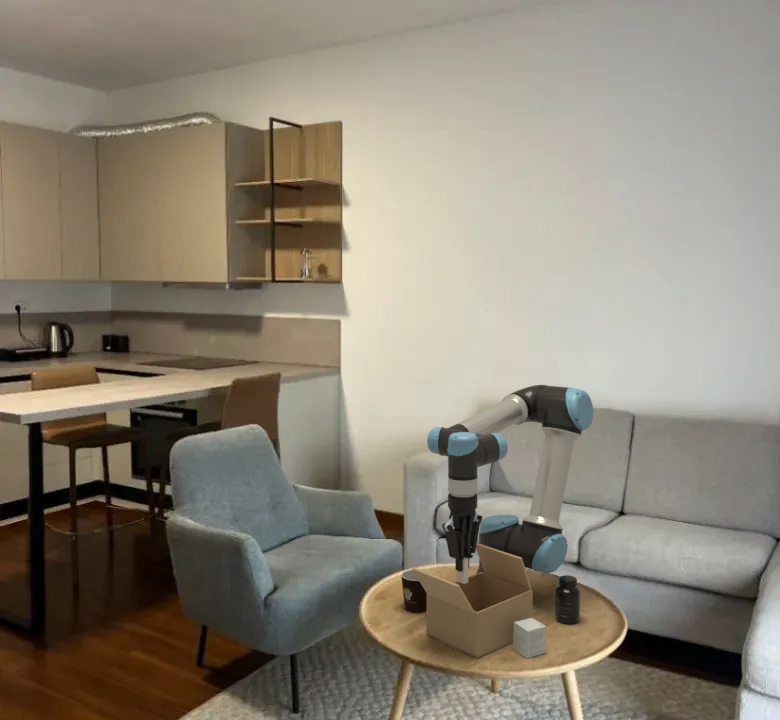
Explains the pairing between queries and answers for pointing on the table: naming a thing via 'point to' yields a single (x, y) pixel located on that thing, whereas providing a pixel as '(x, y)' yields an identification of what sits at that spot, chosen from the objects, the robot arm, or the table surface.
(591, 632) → the table surface
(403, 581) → the coffee mug
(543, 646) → the product box
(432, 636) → the carton
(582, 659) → the table surface
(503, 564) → the flap
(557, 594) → the supplement bottle
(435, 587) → the flap
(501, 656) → the table surface
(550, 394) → the robot arm
